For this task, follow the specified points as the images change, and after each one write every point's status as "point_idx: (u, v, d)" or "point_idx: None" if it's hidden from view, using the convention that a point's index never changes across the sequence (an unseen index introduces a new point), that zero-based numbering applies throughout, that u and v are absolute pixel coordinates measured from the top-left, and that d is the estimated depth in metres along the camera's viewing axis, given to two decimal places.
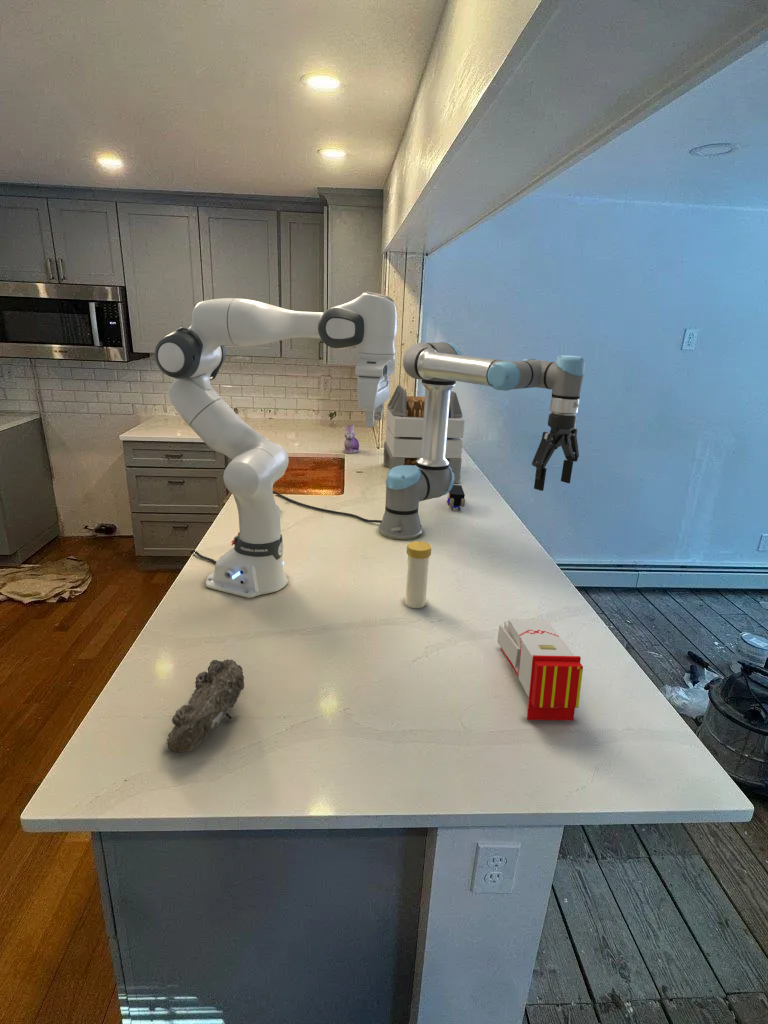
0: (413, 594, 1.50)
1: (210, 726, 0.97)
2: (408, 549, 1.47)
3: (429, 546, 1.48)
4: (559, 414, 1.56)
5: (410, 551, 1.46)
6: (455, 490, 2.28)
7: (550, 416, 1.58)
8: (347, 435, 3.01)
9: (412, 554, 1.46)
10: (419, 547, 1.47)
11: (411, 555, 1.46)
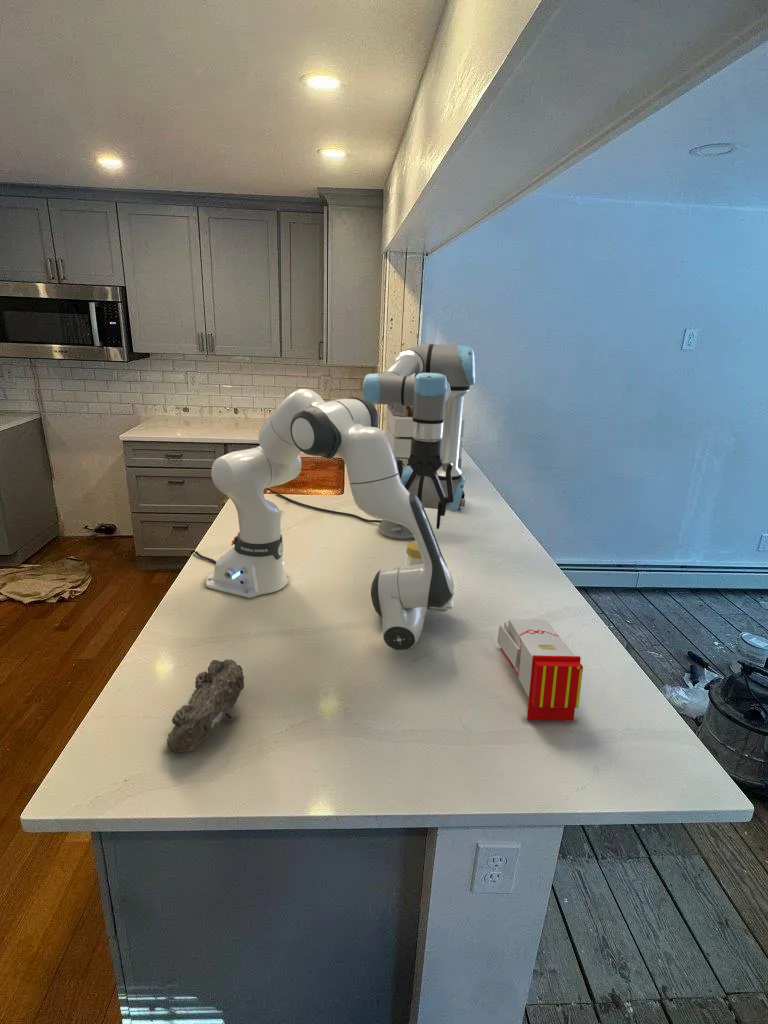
0: None
1: (210, 726, 0.97)
2: (408, 549, 1.47)
3: None
4: None
5: (410, 551, 1.46)
6: None
7: (439, 445, 1.36)
8: None
9: (412, 554, 1.46)
10: None
11: (411, 555, 1.46)
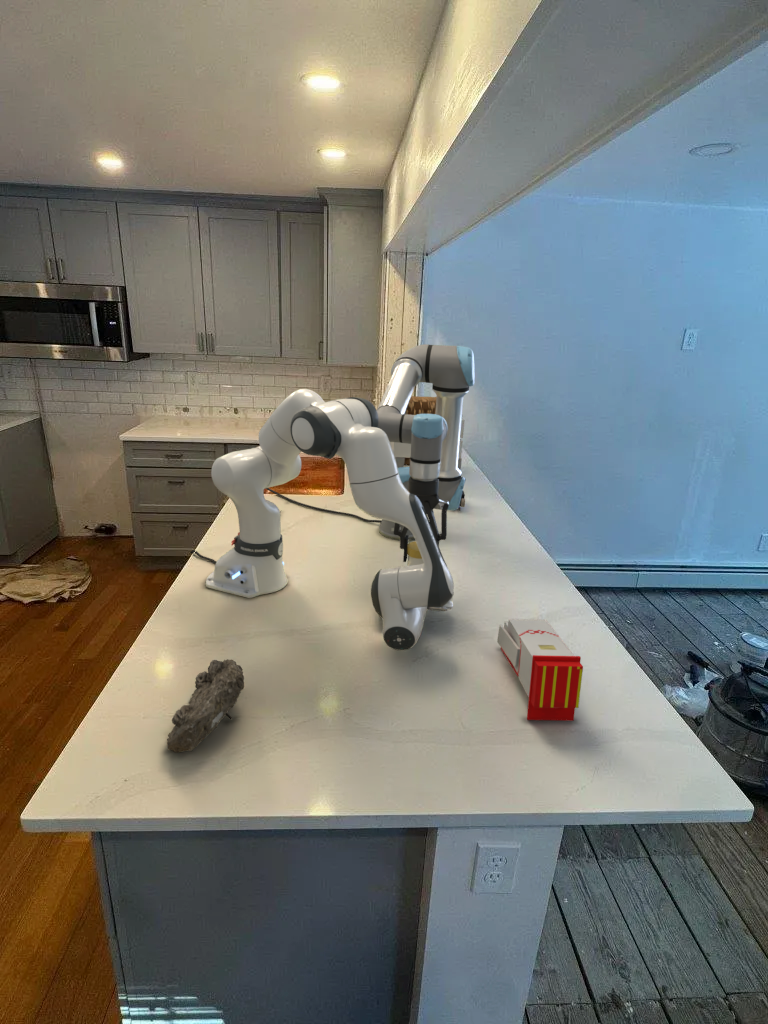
0: None
1: (210, 726, 0.97)
2: (408, 549, 1.47)
3: None
4: None
5: (410, 551, 1.46)
6: None
7: (436, 483, 1.40)
8: None
9: (412, 554, 1.46)
10: None
11: (411, 555, 1.46)
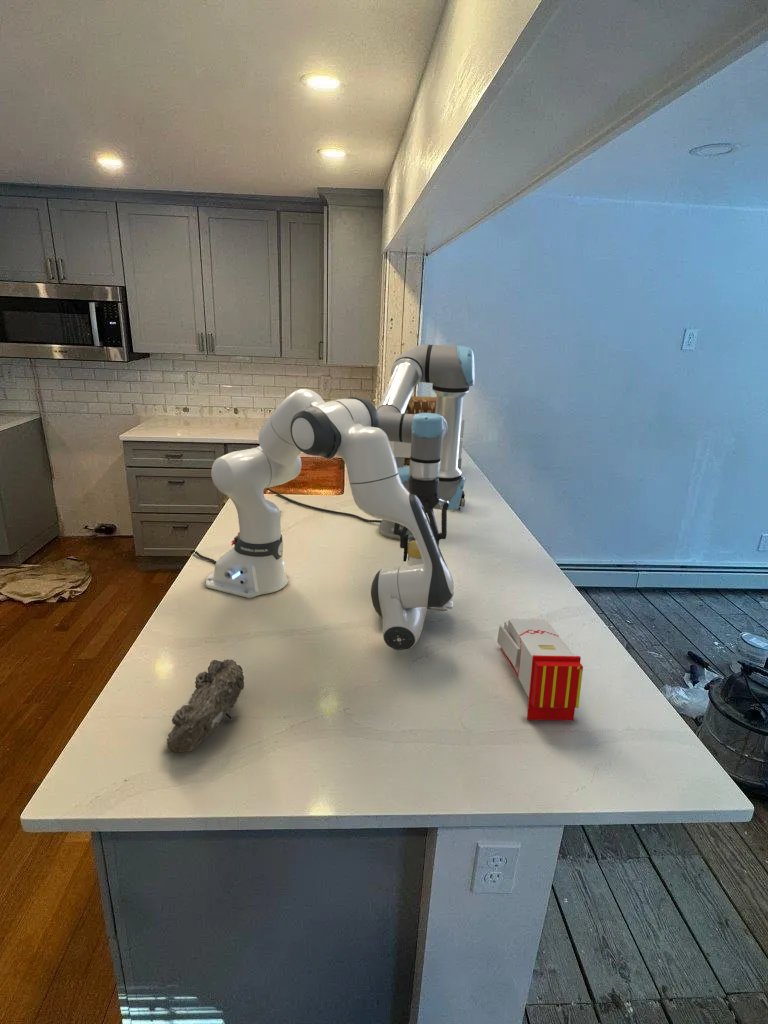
0: None
1: (210, 726, 0.97)
2: None
3: (413, 541, 1.50)
4: None
5: None
6: None
7: (436, 483, 1.40)
8: None
9: None
10: None
11: None
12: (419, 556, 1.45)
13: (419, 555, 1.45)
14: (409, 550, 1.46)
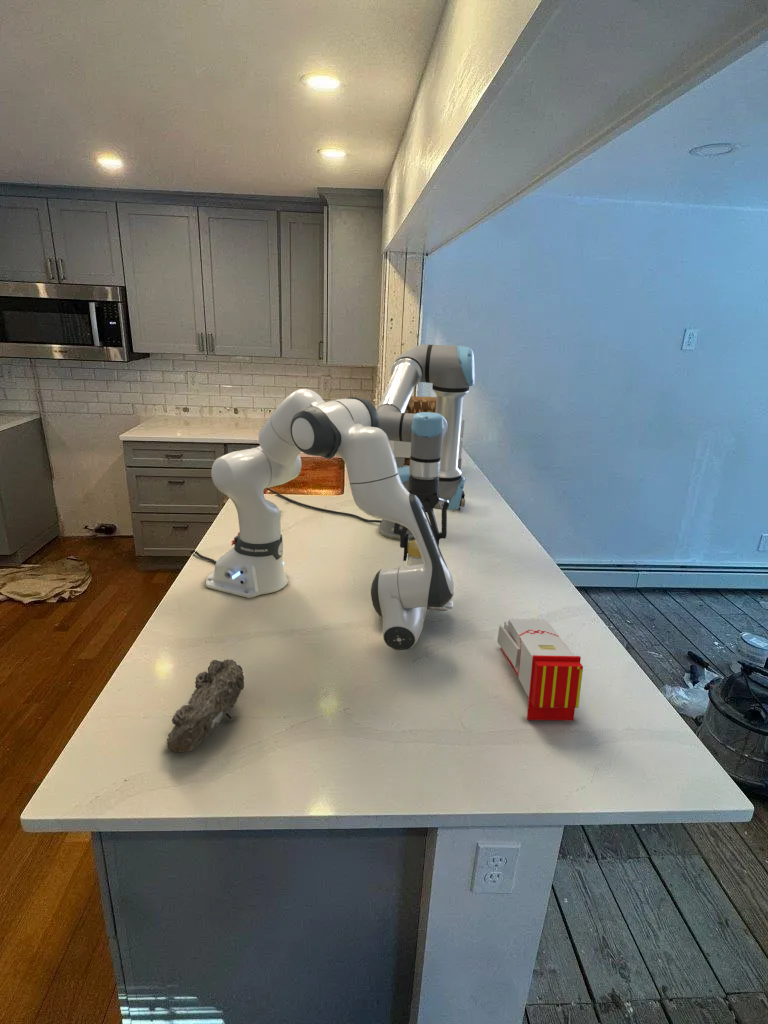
0: None
1: (210, 726, 0.97)
2: None
3: (417, 548, 1.45)
4: None
5: None
6: None
7: (436, 482, 1.40)
8: None
9: None
10: (415, 544, 1.48)
11: None
12: None
13: None
14: None
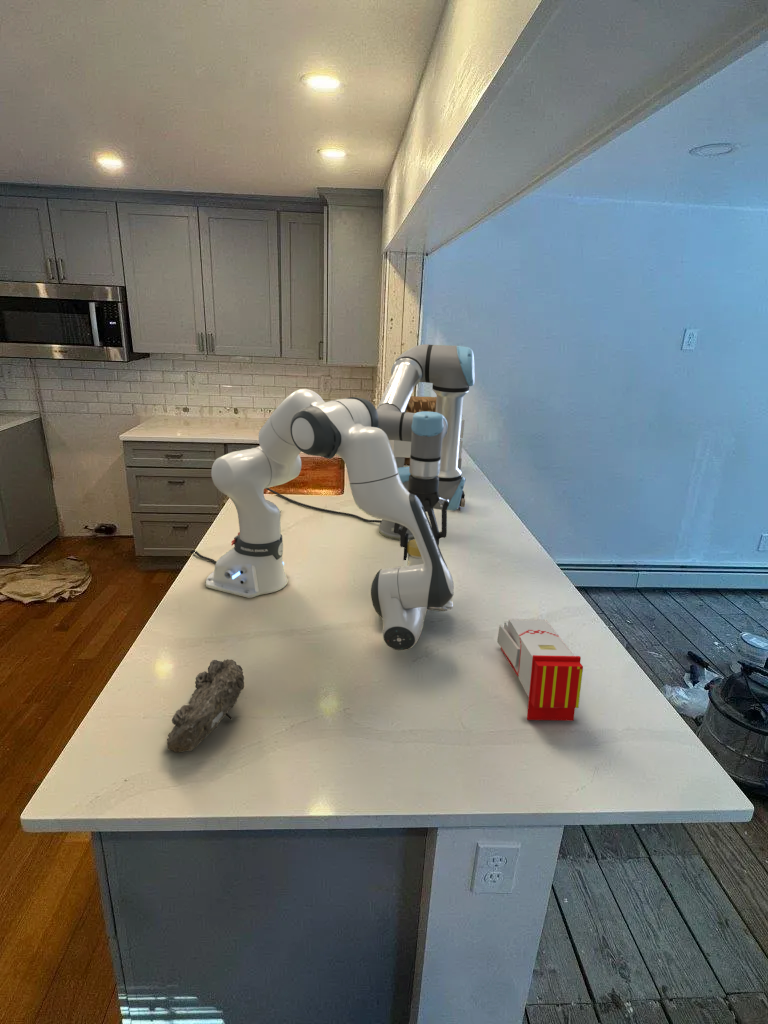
0: None
1: (210, 726, 0.97)
2: (412, 549, 1.45)
3: None
4: None
5: (415, 551, 1.45)
6: None
7: (436, 481, 1.39)
8: None
9: (418, 553, 1.45)
10: None
11: (416, 555, 1.45)
12: None
13: None
14: None
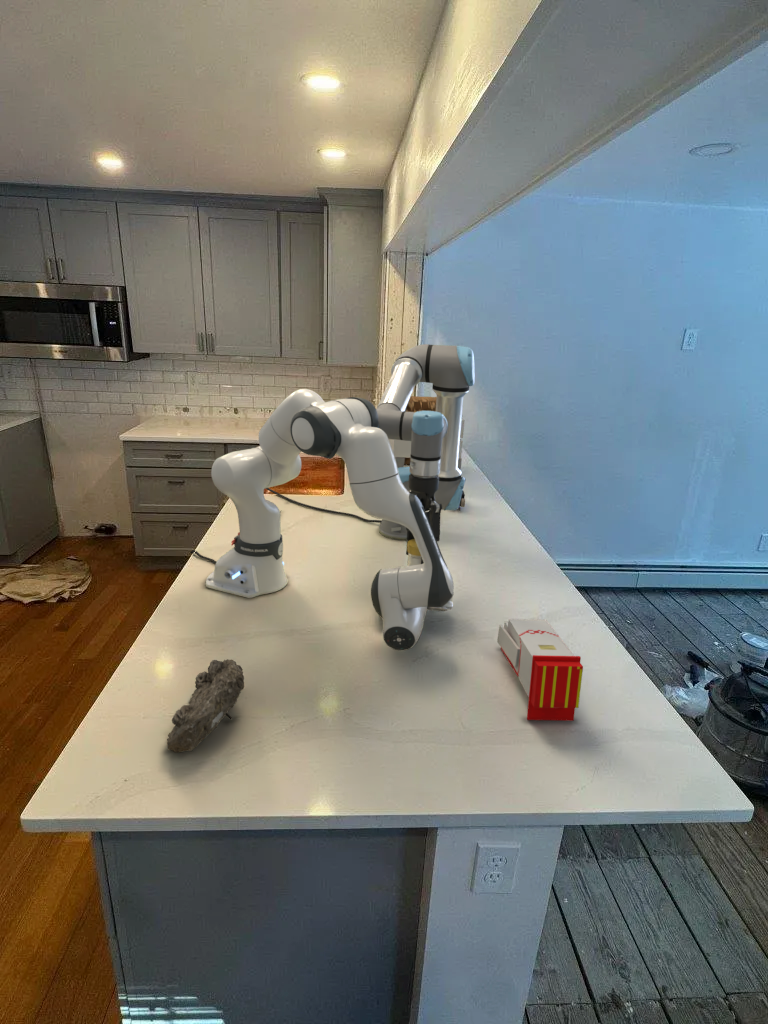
0: None
1: (210, 726, 0.97)
2: None
3: (410, 541, 1.49)
4: None
5: None
6: None
7: None
8: None
9: None
10: None
11: None
12: None
13: None
14: (414, 550, 1.45)
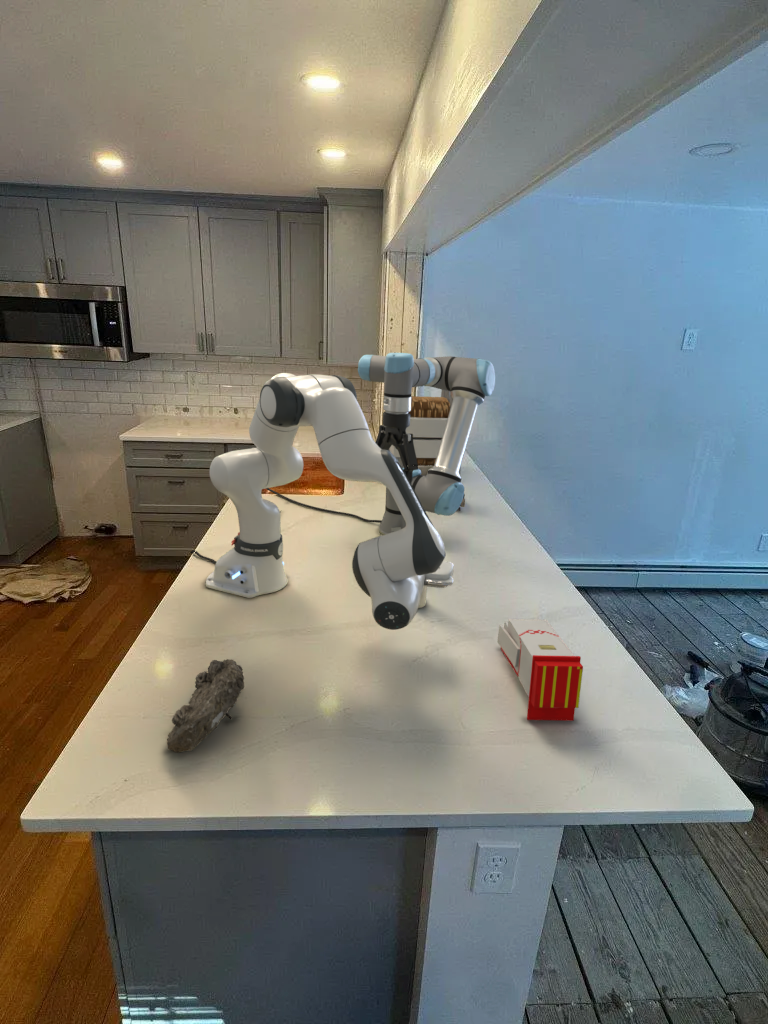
0: None
1: (210, 726, 0.97)
2: None
3: None
4: None
5: None
6: None
7: None
8: None
9: None
10: None
11: None
12: None
13: None
14: None
